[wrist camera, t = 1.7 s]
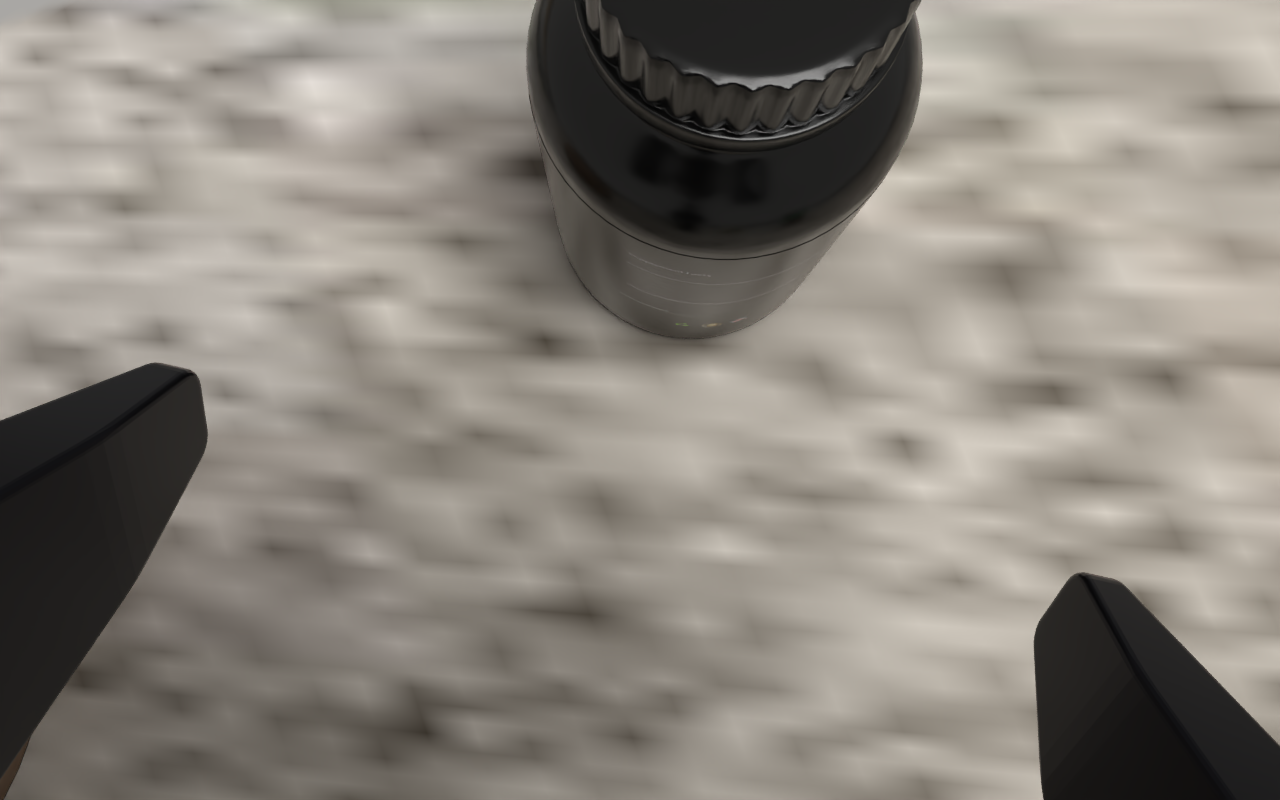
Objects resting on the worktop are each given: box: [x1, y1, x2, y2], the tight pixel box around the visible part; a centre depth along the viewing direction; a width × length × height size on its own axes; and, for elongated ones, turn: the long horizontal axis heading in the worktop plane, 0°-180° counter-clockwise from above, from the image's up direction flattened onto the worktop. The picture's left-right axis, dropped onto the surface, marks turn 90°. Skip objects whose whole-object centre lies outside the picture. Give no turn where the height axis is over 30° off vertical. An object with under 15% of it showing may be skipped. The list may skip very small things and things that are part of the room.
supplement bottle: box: [527, 0, 923, 338], centre depth 18 cm, size 7×7×12 cm
